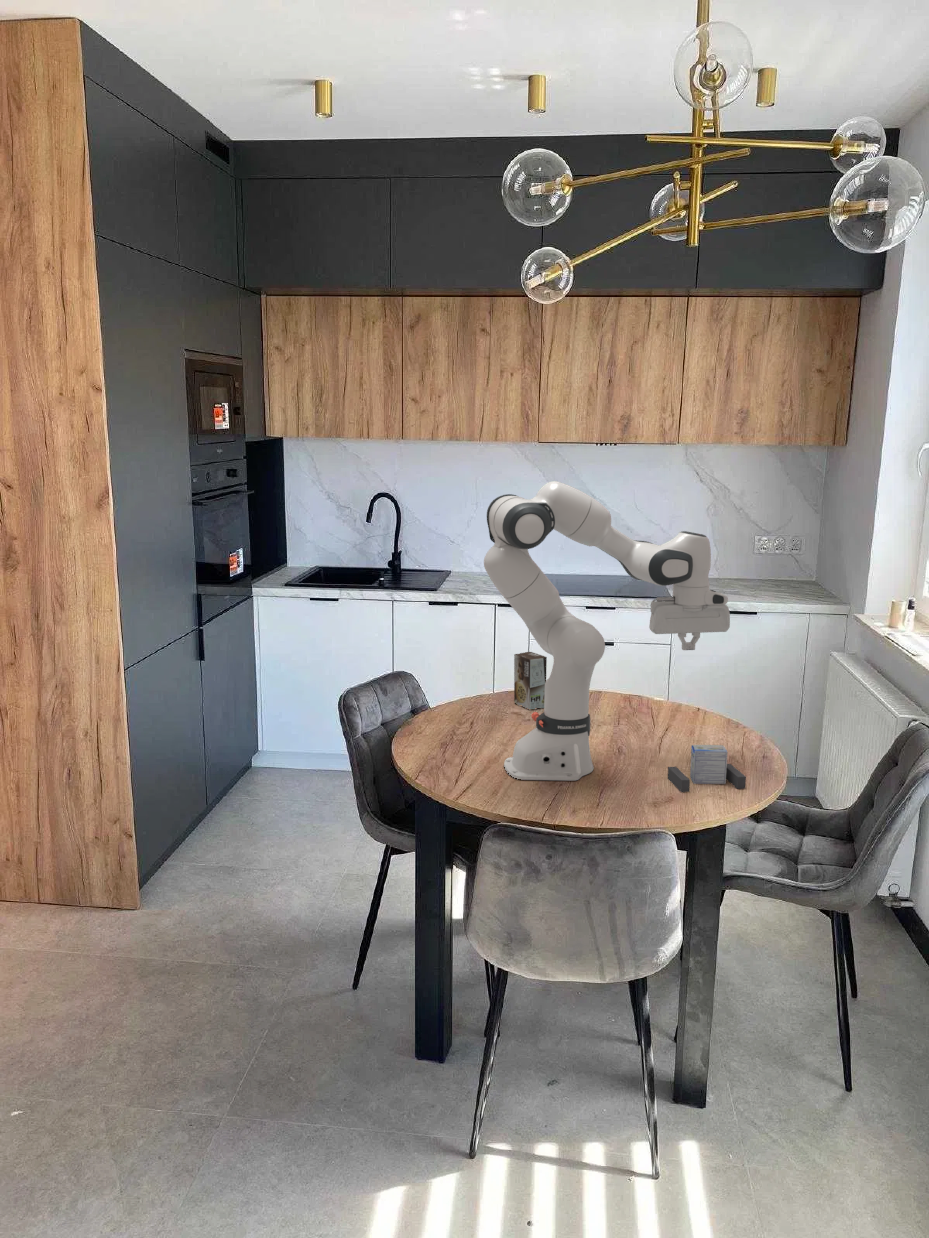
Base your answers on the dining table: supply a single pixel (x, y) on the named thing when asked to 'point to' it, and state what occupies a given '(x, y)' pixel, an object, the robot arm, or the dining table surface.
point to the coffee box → (529, 679)
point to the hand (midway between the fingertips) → (688, 649)
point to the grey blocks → (684, 783)
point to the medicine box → (708, 764)
